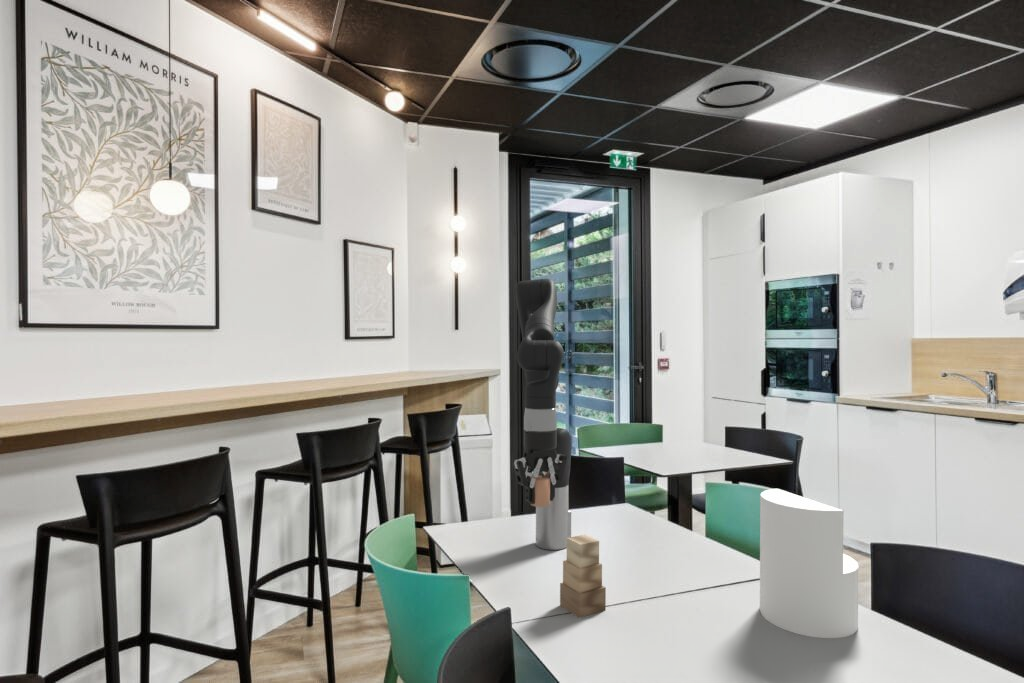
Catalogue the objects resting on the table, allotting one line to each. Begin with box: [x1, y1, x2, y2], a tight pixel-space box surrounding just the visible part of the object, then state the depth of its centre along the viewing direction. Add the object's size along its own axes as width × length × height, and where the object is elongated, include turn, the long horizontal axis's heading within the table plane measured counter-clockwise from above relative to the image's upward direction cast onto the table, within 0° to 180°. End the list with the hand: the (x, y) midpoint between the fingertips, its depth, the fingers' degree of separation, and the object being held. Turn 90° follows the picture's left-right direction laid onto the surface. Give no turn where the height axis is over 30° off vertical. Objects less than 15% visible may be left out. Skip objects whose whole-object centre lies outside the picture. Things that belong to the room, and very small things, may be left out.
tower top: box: [566, 534, 600, 568], centre depth 135 cm, size 5×5×5 cm
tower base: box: [559, 582, 607, 618], centre depth 135 cm, size 7×7×5 cm
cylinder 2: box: [759, 488, 859, 639], centre depth 131 cm, size 19×19×25 cm
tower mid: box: [562, 559, 603, 593], centre depth 135 cm, size 6×6×5 cm
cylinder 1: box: [530, 476, 550, 508], centre depth 142 cm, size 5×5×6 cm
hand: (540, 501), depth 142 cm, fingers closed on cylinder 1, 4 cm apart
